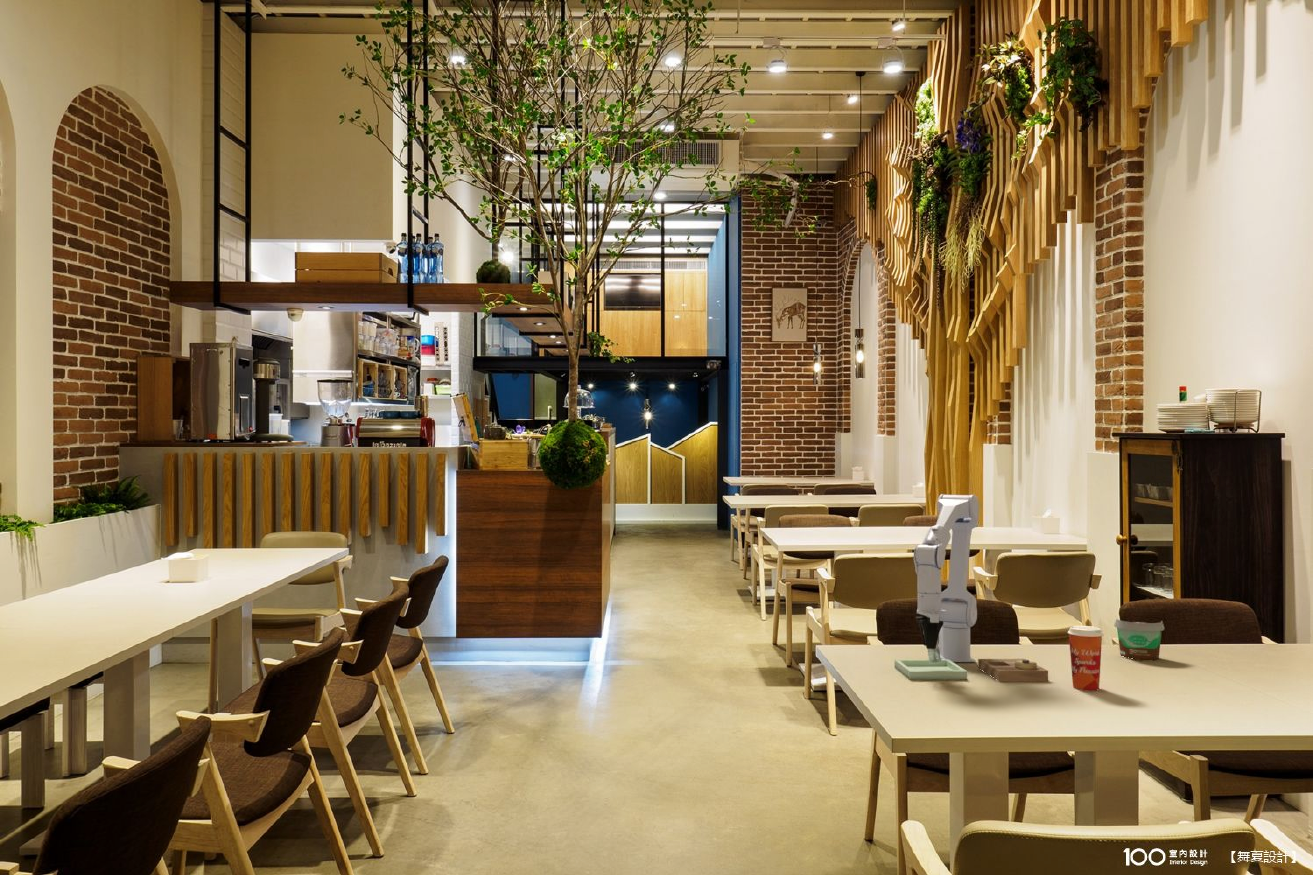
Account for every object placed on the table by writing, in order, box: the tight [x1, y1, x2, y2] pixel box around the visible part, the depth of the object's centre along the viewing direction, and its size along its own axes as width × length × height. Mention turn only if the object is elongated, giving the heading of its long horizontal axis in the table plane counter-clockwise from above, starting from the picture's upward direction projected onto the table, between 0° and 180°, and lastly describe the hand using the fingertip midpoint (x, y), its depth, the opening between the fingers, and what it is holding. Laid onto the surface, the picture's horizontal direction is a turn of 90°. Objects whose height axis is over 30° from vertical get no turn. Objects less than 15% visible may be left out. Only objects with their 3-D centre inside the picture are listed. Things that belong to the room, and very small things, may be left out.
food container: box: [1113, 618, 1165, 661], centre depth 259 cm, size 12×6×10 cm, turn 73°
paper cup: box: [1067, 625, 1105, 691], centre depth 226 cm, size 8×8×14 cm
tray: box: [894, 658, 968, 681], centre depth 241 cm, size 14×14×2 cm
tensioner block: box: [977, 658, 1049, 682], centre depth 240 cm, size 14×12×4 cm
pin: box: [923, 632, 941, 663], centre depth 241 cm, size 4×4×8 cm
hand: (929, 646), depth 241 cm, fingers closed on pin, 3 cm apart
